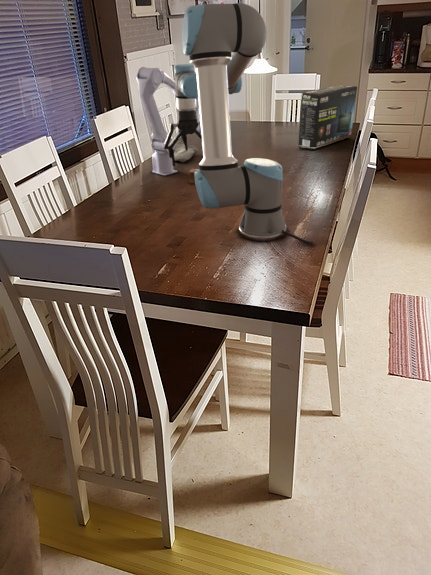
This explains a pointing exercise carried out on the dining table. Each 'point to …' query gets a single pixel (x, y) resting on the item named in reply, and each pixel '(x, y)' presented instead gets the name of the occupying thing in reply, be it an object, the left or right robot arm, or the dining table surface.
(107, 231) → the dining table surface
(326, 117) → the router box
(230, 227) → the dining table surface
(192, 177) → the block
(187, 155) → the fossil
